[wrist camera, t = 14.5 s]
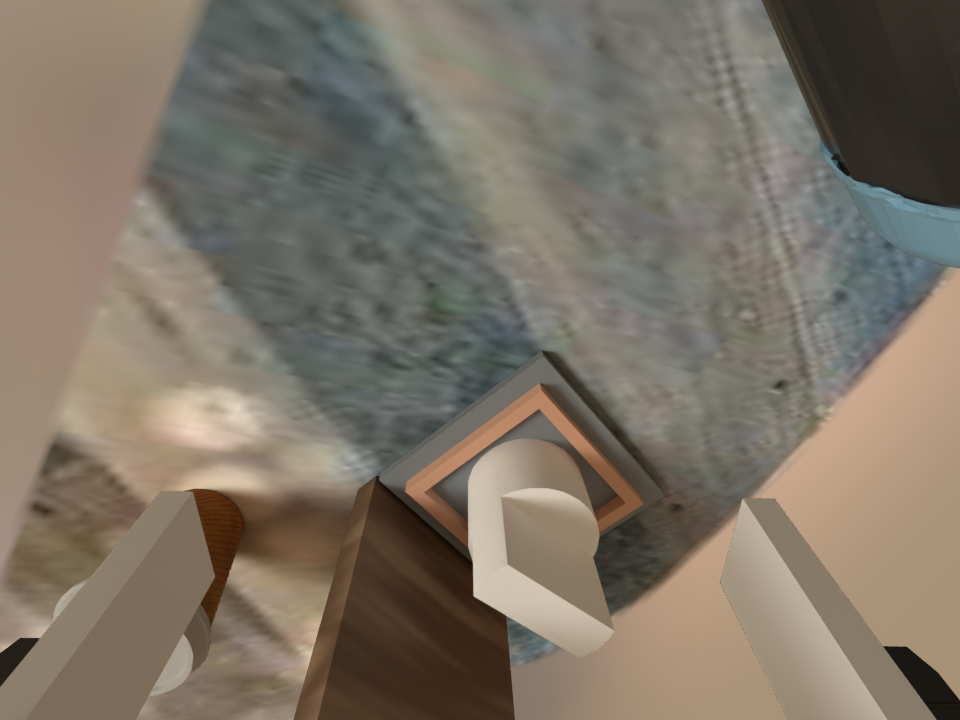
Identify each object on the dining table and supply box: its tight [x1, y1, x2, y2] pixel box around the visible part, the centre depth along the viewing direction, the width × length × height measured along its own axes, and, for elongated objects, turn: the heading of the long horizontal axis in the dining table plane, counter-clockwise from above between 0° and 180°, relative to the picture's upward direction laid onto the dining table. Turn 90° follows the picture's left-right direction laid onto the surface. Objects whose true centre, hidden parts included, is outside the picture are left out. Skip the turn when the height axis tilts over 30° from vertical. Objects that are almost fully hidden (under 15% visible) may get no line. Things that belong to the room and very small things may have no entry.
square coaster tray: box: [379, 351, 665, 563], centre depth 43 cm, size 16×16×2 cm
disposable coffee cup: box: [51, 489, 244, 696], centre depth 39 cm, size 10×10×12 cm
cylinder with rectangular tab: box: [468, 439, 614, 658], centre depth 38 cm, size 9×9×12 cm
